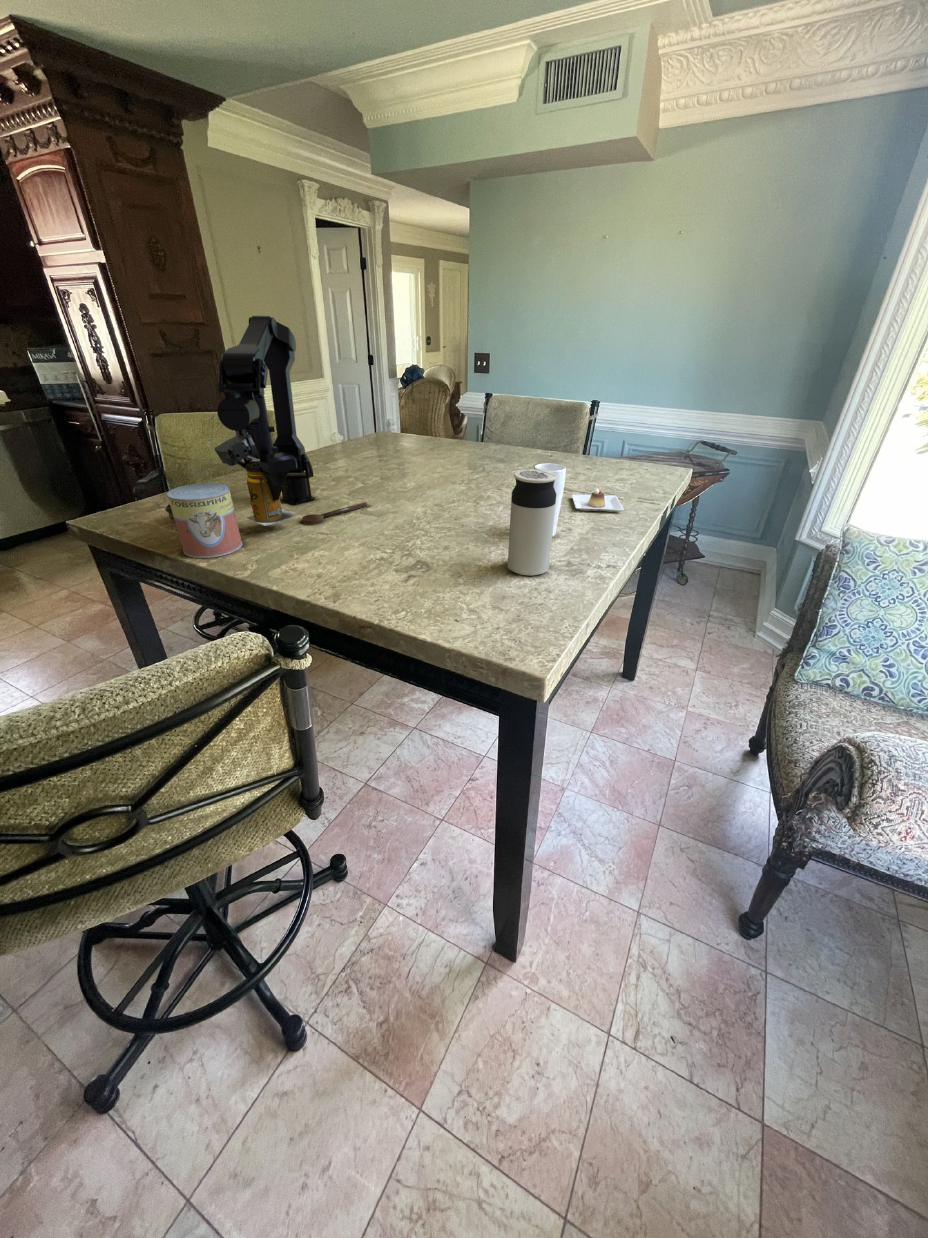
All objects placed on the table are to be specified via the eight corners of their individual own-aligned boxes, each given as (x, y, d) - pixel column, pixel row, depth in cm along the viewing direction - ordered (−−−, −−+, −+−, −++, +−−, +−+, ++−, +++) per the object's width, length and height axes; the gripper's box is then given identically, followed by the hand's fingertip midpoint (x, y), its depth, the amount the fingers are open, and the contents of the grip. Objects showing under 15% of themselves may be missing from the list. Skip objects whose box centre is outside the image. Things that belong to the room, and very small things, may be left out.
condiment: (246, 518, 111) (234, 463, 105) (279, 508, 117) (270, 456, 110) (265, 526, 108) (254, 471, 101) (298, 516, 113) (290, 463, 107)
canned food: (184, 562, 98) (166, 502, 92) (182, 542, 107) (166, 486, 100) (245, 552, 103) (232, 494, 96) (239, 534, 111) (226, 480, 105)
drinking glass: (561, 531, 114) (568, 464, 107) (556, 541, 109) (563, 472, 101) (532, 527, 116) (537, 462, 109) (525, 537, 111) (530, 469, 103)
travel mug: (519, 579, 93) (527, 482, 83) (500, 563, 99) (504, 471, 90) (556, 572, 95) (567, 477, 86) (535, 557, 102) (543, 467, 92)
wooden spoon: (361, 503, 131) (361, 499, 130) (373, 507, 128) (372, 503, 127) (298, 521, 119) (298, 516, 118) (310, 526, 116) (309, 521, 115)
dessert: (615, 499, 136) (618, 482, 133) (623, 514, 125) (626, 495, 123) (571, 497, 137) (573, 480, 134) (575, 512, 126) (577, 493, 124)
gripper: (194, 420, 102) (213, 496, 110) (237, 433, 91) (255, 515, 99) (246, 414, 109) (260, 485, 117) (292, 425, 98) (304, 503, 106)
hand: (268, 496), depth 110 cm, fingers closed on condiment, 6 cm apart
